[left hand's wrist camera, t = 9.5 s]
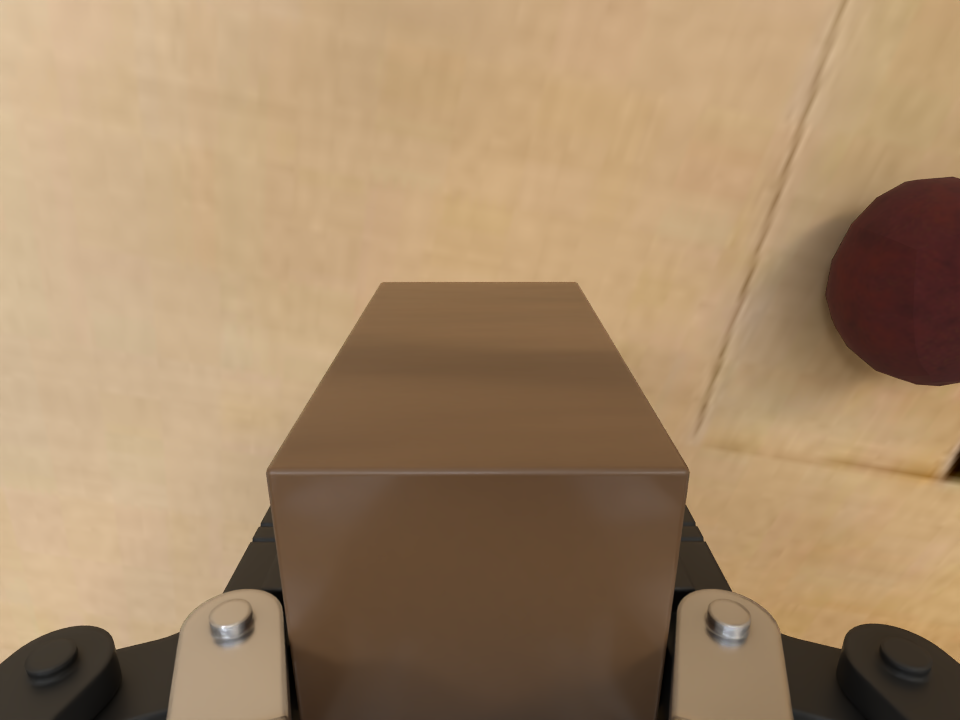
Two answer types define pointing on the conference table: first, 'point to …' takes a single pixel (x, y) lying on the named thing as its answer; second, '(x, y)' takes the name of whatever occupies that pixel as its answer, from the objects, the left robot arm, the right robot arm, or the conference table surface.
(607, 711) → the bar
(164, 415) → the conference table surface
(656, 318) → the conference table surface
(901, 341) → the dark red rounded ball
